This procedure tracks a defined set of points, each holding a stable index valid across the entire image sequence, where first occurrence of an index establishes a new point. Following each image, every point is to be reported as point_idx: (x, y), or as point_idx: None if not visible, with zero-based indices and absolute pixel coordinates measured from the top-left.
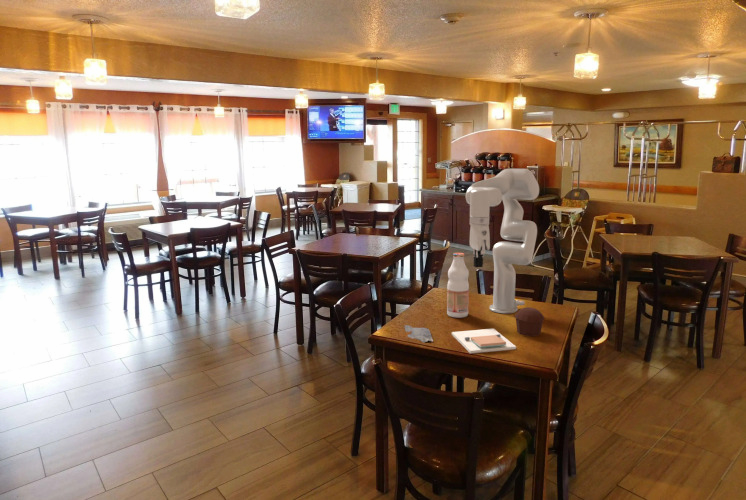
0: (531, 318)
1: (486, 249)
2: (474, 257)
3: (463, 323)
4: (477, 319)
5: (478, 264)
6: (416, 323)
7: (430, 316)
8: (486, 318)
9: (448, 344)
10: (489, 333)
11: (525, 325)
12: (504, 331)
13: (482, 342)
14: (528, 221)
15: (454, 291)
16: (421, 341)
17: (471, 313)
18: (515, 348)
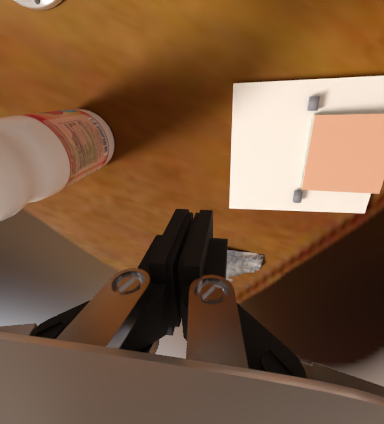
0: None
1: (235, 367)
2: (173, 329)
3: (158, 149)
4: (129, 95)
5: (226, 265)
6: (145, 248)
7: (102, 207)
8: (122, 60)
9: (287, 232)
10: (270, 115)
11: None
12: (247, 46)
13: (365, 181)
14: None
15: (67, 182)
16: (251, 272)
17: (77, 93)
18: None
